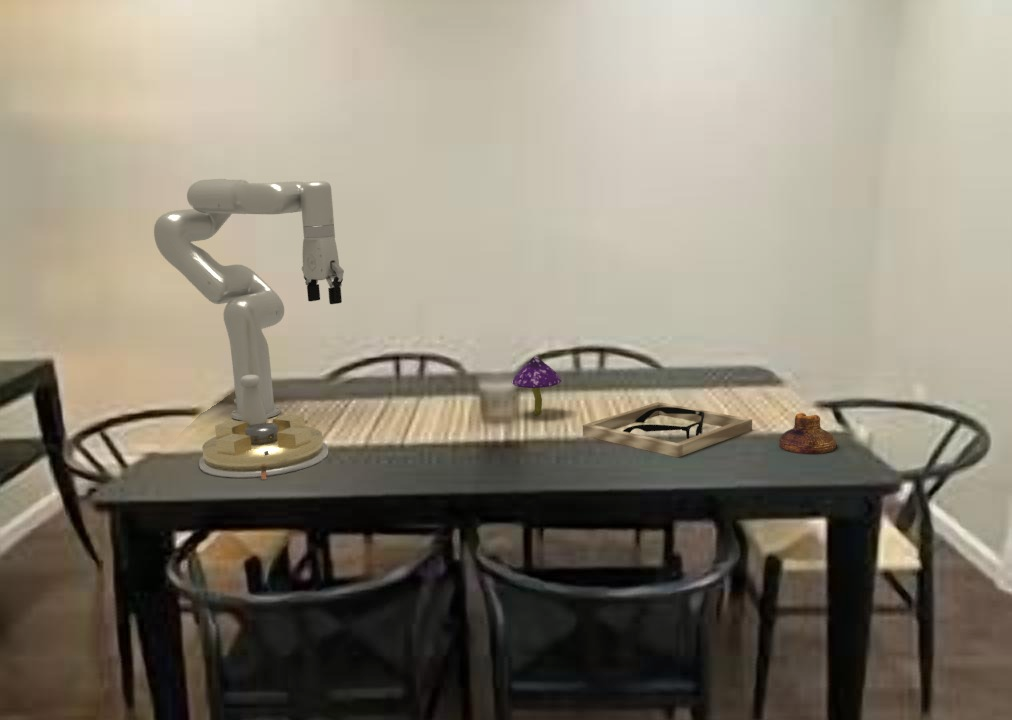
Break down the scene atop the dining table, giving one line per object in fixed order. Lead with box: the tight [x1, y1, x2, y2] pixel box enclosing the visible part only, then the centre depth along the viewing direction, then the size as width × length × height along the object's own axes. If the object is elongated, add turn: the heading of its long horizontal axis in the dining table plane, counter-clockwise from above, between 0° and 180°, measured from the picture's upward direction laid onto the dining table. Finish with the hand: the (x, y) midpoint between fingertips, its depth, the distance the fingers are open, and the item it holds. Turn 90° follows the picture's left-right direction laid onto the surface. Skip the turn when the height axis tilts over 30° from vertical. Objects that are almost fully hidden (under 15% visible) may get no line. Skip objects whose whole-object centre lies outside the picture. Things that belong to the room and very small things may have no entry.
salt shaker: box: [240, 375, 268, 426], centre depth 231 cm, size 6×6×13 cm
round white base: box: [198, 442, 329, 481], centre depth 225 cm, size 28×28×1 cm
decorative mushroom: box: [512, 356, 563, 416], centre depth 249 cm, size 12×12×15 cm
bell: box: [778, 412, 837, 455], centre depth 214 cm, size 12×12×7 cm
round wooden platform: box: [202, 413, 324, 471], centre depth 224 cm, size 26×26×6 cm
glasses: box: [622, 407, 704, 439], centre depth 230 cm, size 17×18×5 cm
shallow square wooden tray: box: [582, 401, 753, 458], centre depth 230 cm, size 27×27×2 cm
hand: (324, 302), depth 249 cm, fingers open, 9 cm apart
